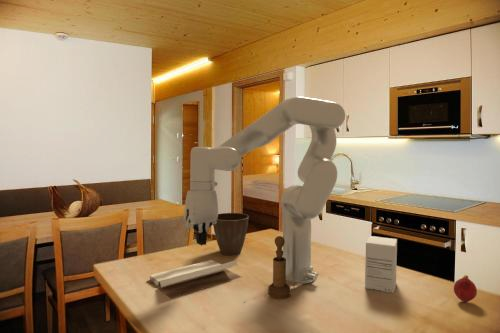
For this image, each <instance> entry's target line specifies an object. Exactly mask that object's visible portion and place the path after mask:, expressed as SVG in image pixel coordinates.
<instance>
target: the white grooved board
mask: <svg viewBox="0 0 500 333" xmlns="http://www.w3.org/2000/svg"><path fill="white" fill-rule="evenodd" d="M221 264H222V263H219V262H217V261H215V260H214V259H209V260H205V261H200V262H197V263H193V264H189V265H184V266H181V267H177V268H173V269H169V270H166V271H165V270H164V271H161V272H156V273H154V274H150V275H149V279H148V280H147V283H149V284H151V285H152V286H153V287H155V288H156V289H158V290H159V291H160V292H161V293H162V294H165V296H167V297H168V298H170V299H171V300H172V299H175V298H178V297H181V296H185V295H188V294H191V293H193V292H197V291H200V290H204V289H207V288H210V287H214V286H217V285H220V284H224V283H227V282H229V281H233V280H236V279H239V278H242V276H241V275H239V274H237V273H235V272H233V271H231V270H229V269H223V270H220V271H216V272H213V273H209V274H206V275H202V276H199V277H195V278H191V279H188V280H184V281H181V282H177V283H174V284H170V285H166V286H163V287H161V284H160V282H161V281H164V280H167V279H170V278H173V277H177V276H180V275H184V274H188V273H191V272H195V271H199V270H203V269H206V268H210V267H214V266H218V265H221Z"/></svg>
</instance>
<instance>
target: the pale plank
mask: <svg viewBox="0 0 500 333" xmlns="http://www.w3.org/2000/svg"><path fill="white" fill-rule="evenodd" d="M220 264H221V265H218V266H214V267H210V268H206V269H203V270H199V271H195V272H191V273H188V274H184V275H180V276H177V277H173V278H170V279H167V280H164V281H161V282H160V284H161V287H163V286H166V285H170V284H174V283H177V282H181V281H184V280H188V279H191V278H195V277H199V276H202V275H206V274H209V273H213V272H216V271H220V270H223V269H226V270H228V269H230V268H233V267H236V266H239V265H238V261H237V260H232V261H229V262H225V263H220Z"/></svg>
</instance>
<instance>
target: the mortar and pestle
mask: <svg viewBox="0 0 500 333" xmlns="http://www.w3.org/2000/svg"><path fill="white" fill-rule="evenodd" d="M284 243H285V240H284V238H283V236H281V235H280V236H276V237H275V238H274V244H275V247H277V249H276V250H275V254H276V257H273V258H272V283H271V284H270V285H269V286H268V292H267V293H268V297H270V298H272V299H277V300H283V299H287V298H289V297H290V296H291V286H290V285H289V284H288V283H287V282H286V281H287V280H286V259H285V258H283V245H284Z"/></svg>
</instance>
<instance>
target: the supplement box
mask: <svg viewBox="0 0 500 333" xmlns="http://www.w3.org/2000/svg"><path fill="white" fill-rule="evenodd" d="M397 256H398V238H392V237H390V238H389V237H383V236H382V237H381V236H375V235H373V236H372V235H370V236H369V237H368V239H367V240H366V243H365V263H364V265H365V266H364V267H365V268H364V269H365V270H364V271H365V272H364V288H365V289H369V290H373V289H375V290H374V291H379V290H380V291H381V292H386V293H391V292H392V294H394V293H395V290H396V287H397V286H396V285H397V261H398V260H397Z"/></svg>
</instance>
